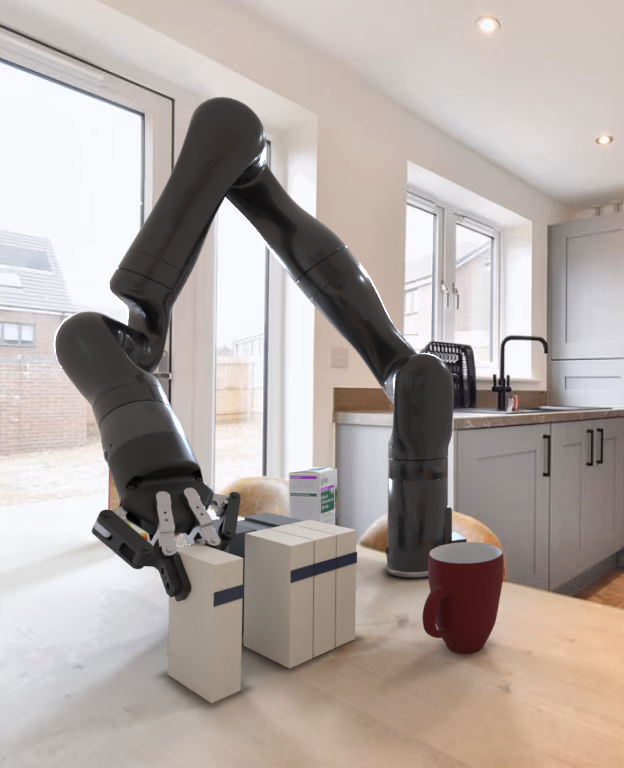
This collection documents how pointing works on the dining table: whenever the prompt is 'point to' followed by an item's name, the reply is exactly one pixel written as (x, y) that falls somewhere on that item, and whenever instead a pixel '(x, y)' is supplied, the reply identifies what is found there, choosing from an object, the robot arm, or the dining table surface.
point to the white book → (208, 624)
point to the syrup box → (314, 495)
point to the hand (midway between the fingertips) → (202, 590)
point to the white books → (299, 590)
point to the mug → (463, 594)
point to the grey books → (252, 525)
